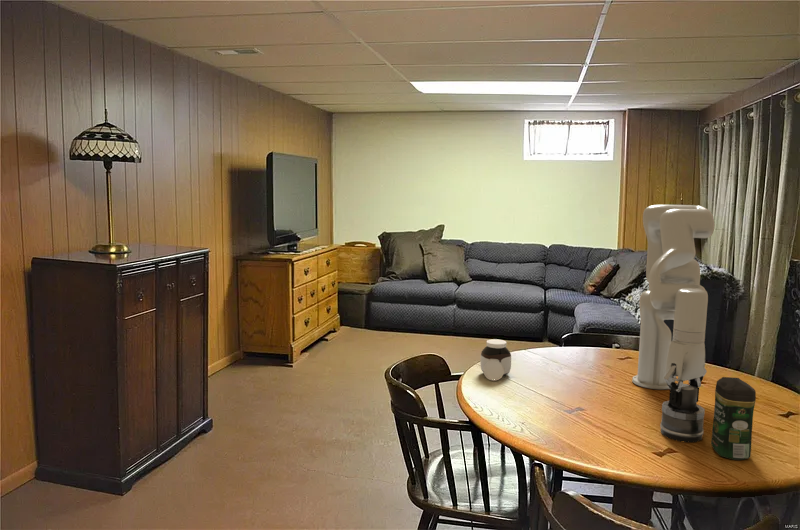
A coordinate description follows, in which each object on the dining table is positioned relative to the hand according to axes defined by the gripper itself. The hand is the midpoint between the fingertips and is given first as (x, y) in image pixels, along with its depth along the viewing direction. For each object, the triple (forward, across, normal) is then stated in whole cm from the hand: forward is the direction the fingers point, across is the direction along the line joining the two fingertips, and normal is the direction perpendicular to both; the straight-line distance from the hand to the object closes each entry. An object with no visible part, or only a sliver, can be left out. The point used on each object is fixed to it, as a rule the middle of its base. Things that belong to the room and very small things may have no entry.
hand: (683, 402), depth 162 cm
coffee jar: (+9, -1, +13) cm, 16 cm away
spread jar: (+9, +14, -62) cm, 64 cm away
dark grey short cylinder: (+1, 0, 0) cm, 1 cm away
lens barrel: (+9, 0, 0) cm, 9 cm away
